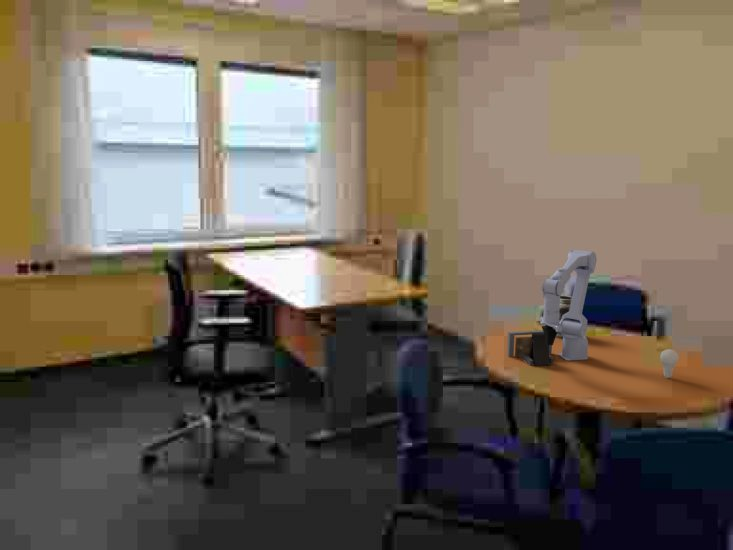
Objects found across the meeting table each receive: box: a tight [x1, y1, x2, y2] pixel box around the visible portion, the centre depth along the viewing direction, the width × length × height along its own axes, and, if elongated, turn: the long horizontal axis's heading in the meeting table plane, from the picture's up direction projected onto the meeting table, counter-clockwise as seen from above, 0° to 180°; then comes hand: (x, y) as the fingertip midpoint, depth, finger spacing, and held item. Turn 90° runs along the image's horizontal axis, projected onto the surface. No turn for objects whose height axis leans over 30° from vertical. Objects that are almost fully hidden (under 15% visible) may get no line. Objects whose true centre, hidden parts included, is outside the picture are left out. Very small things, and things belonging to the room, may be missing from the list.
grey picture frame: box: [506, 329, 553, 357], centre depth 258 cm, size 19×2×10 cm, turn 99°
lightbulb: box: [659, 348, 679, 379], centre depth 231 cm, size 6×6×11 cm
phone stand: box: [529, 333, 551, 367], centre depth 249 cm, size 9×6×12 cm, turn 1°
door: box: [514, 336, 532, 358], centre depth 255 cm, size 14×3×8 cm, turn 99°
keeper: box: [520, 353, 555, 366], centre depth 251 cm, size 10×9×2 cm
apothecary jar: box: [555, 295, 577, 339], centre depth 283 cm, size 12×12×18 cm
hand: (549, 344), depth 239 cm, fingers closed
